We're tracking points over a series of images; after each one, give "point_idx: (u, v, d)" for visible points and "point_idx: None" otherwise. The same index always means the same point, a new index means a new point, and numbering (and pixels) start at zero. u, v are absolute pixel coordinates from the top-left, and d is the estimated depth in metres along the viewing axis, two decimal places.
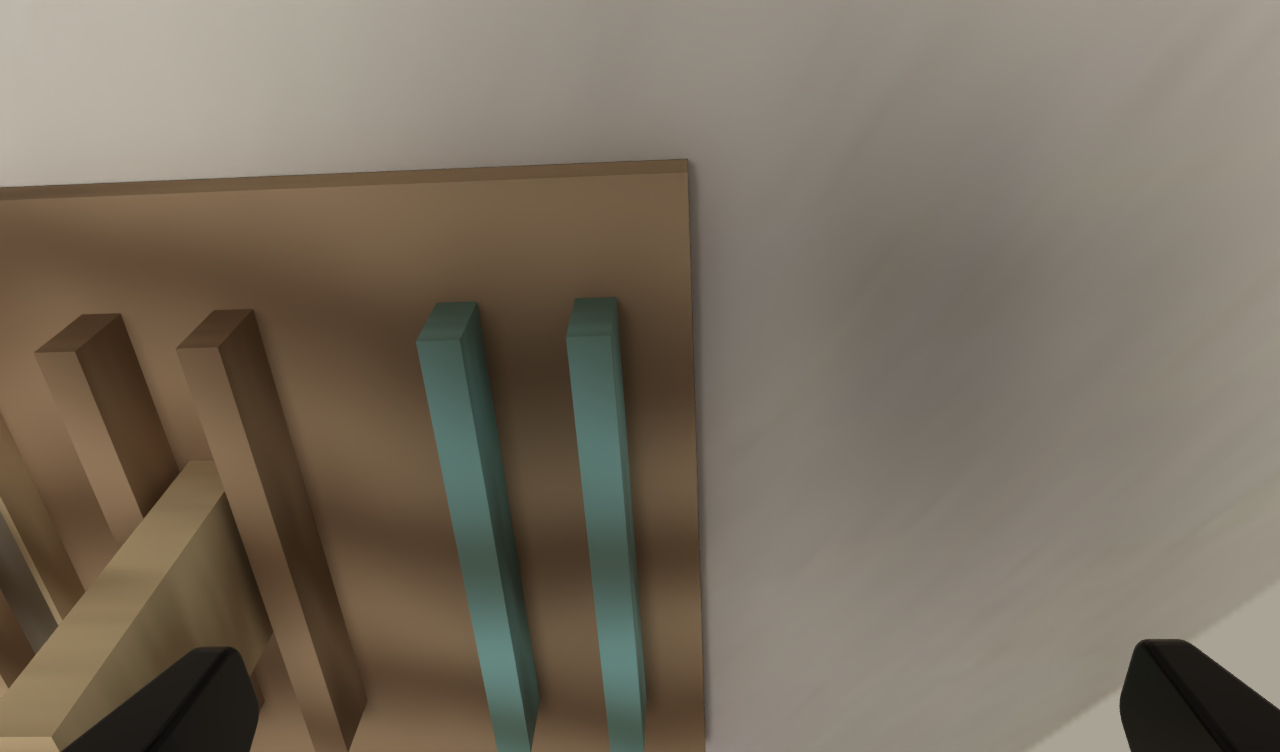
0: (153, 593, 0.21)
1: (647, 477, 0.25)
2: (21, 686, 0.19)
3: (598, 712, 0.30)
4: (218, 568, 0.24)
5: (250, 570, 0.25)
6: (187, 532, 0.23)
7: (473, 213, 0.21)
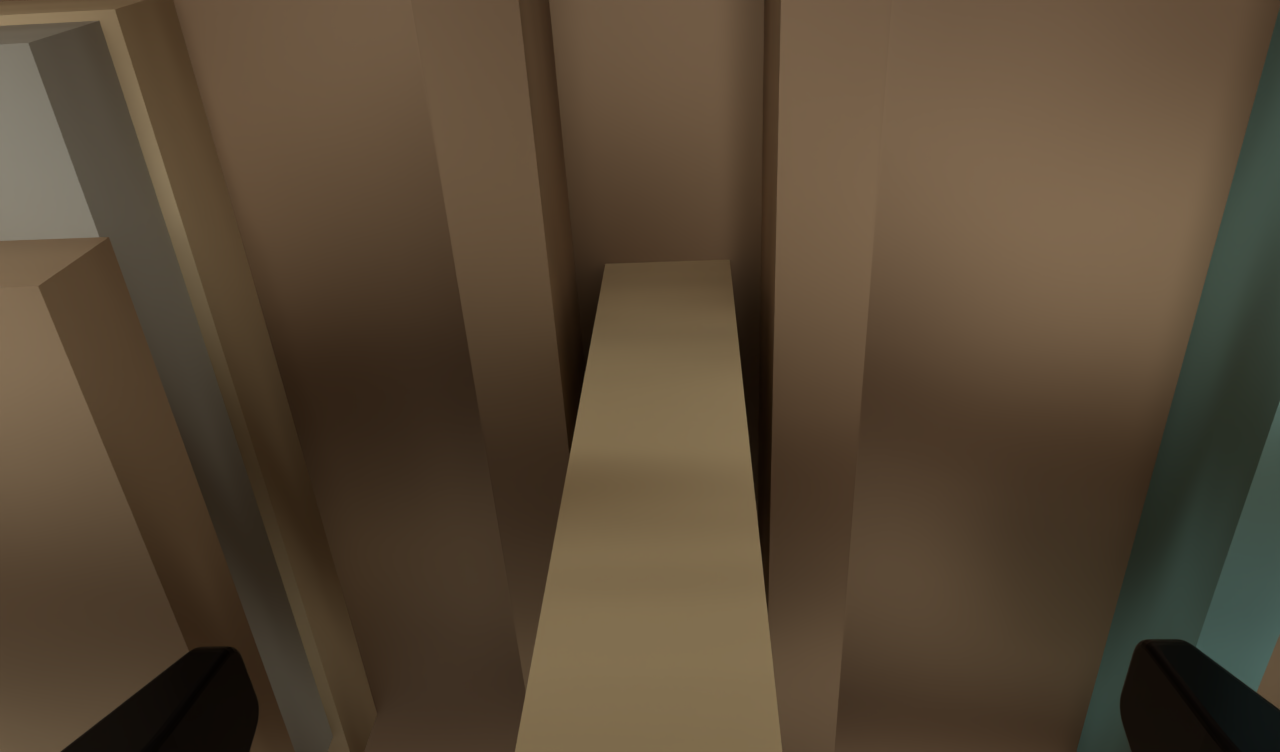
0: (756, 513, 0.07)
1: None
2: None
3: None
4: None
5: None
6: (721, 381, 0.09)
7: None
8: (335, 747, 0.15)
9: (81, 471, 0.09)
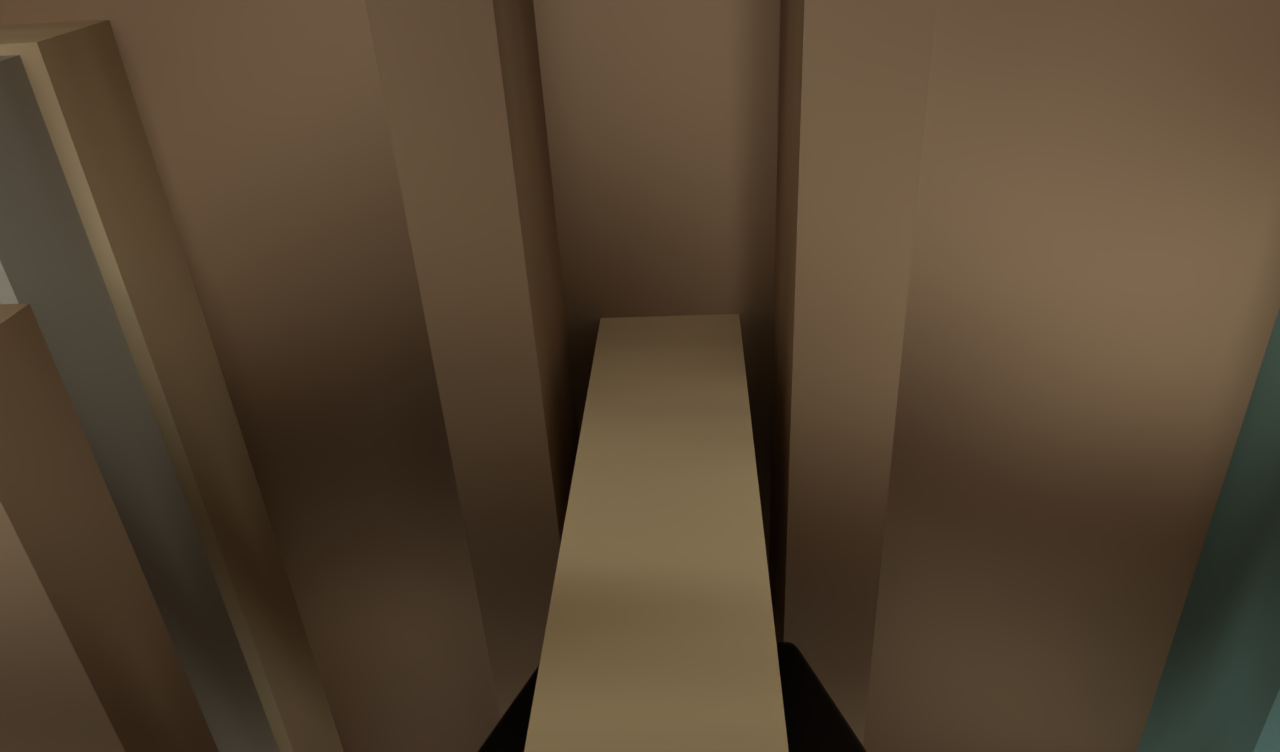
0: None
1: None
2: None
3: None
4: None
5: None
6: (732, 470, 0.08)
7: None
8: None
9: None
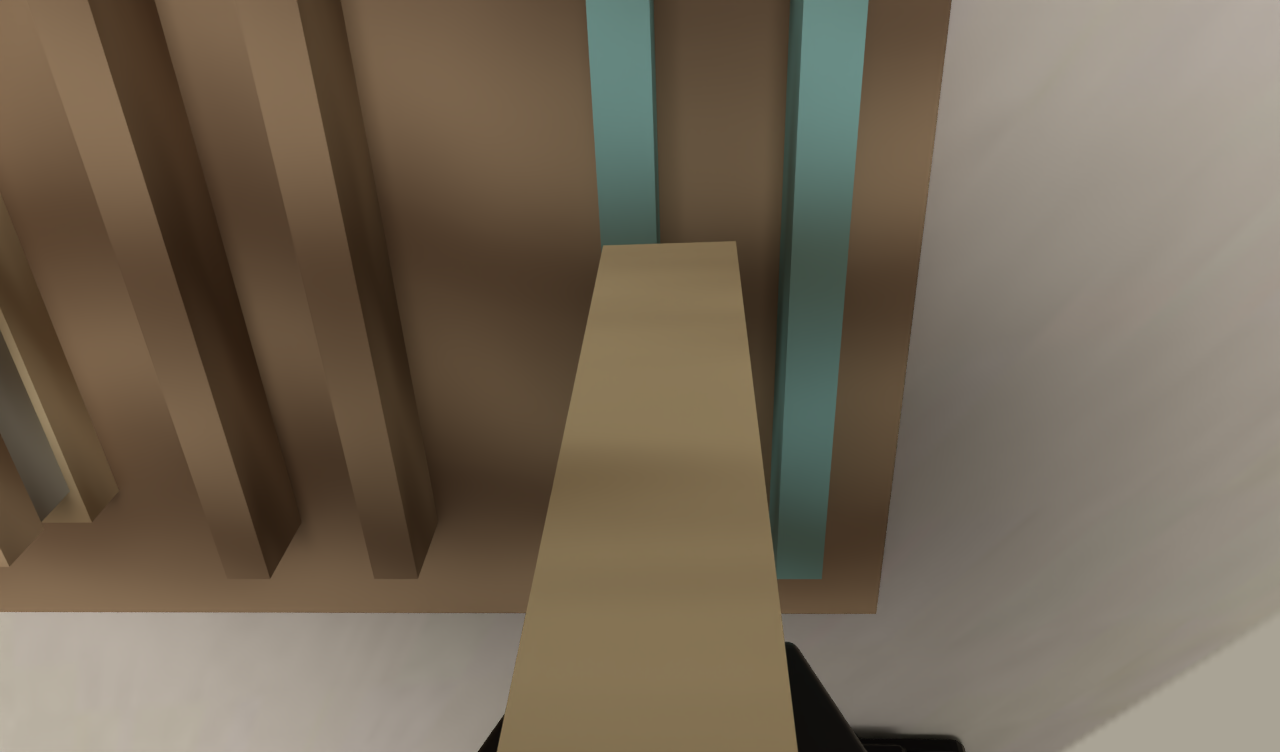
0: (767, 508, 0.07)
1: (860, 166, 0.18)
2: None
3: None
4: None
5: None
6: (728, 365, 0.09)
7: None
8: (73, 500, 0.21)
9: None
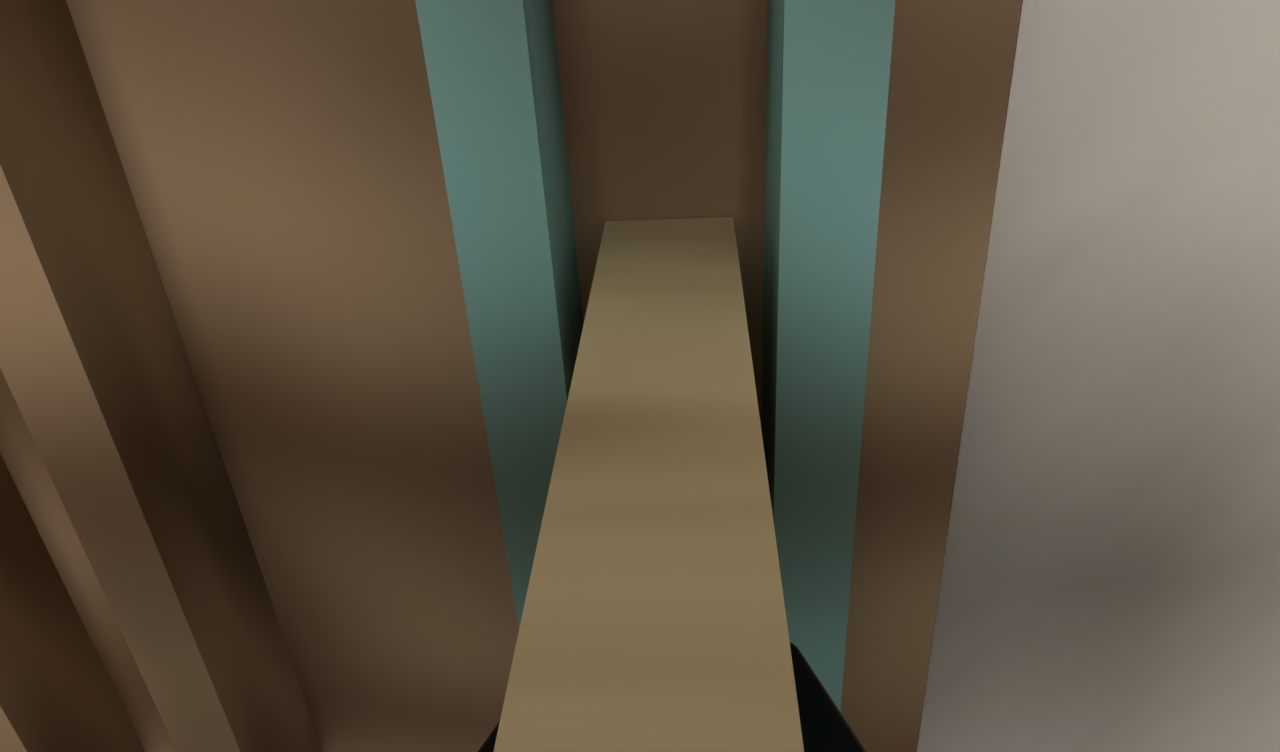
0: (763, 451, 0.07)
1: (875, 314, 0.12)
2: (539, 733, 0.05)
3: None
4: None
5: None
6: (726, 327, 0.09)
7: None
8: None
9: None
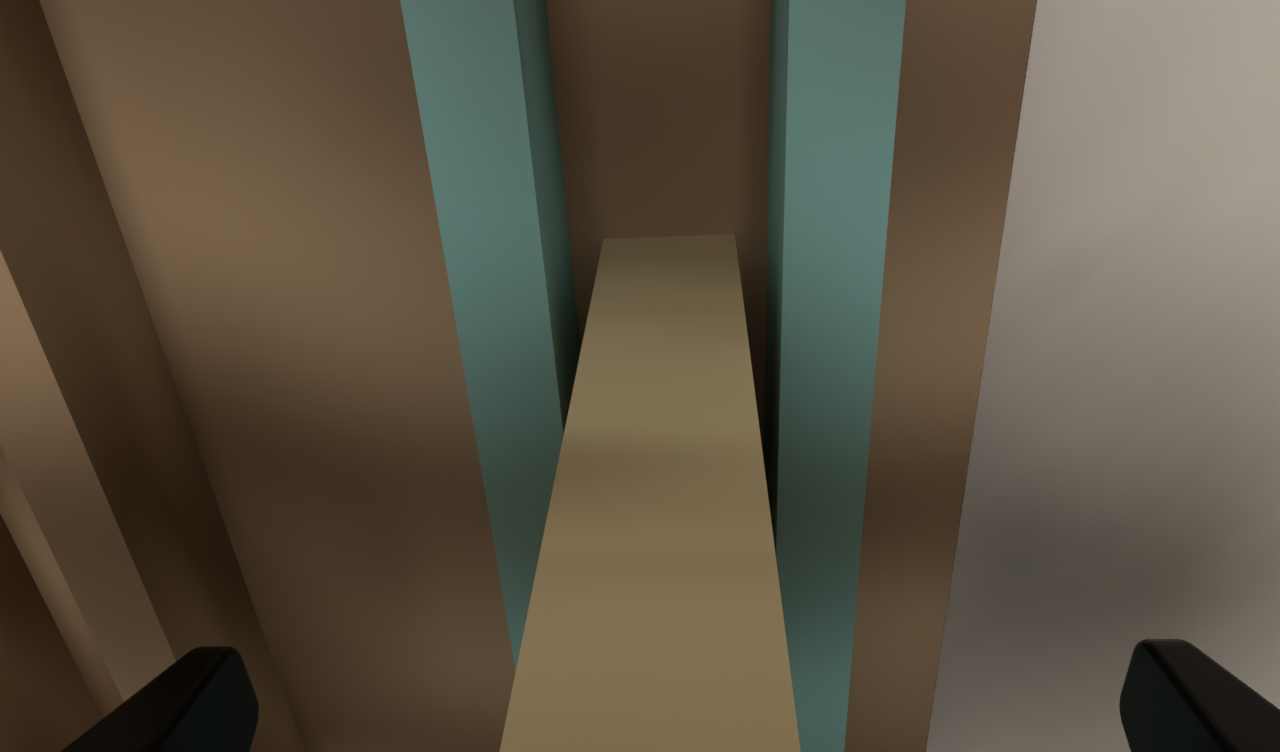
0: (766, 495, 0.07)
1: (881, 335, 0.12)
2: None
3: None
4: None
5: None
6: (728, 355, 0.09)
7: None
8: None
9: None
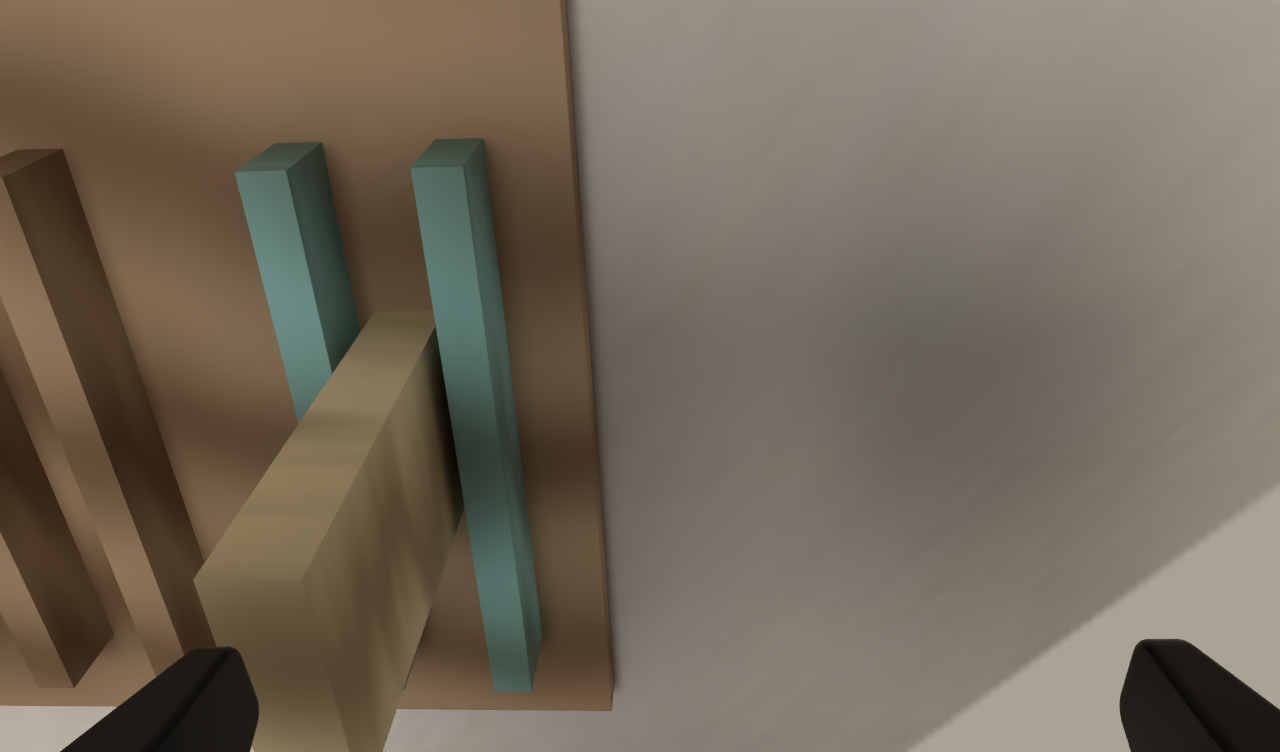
0: (378, 435, 0.17)
1: (530, 365, 0.22)
2: (242, 526, 0.14)
3: None
4: (424, 428, 0.20)
5: (444, 443, 0.21)
6: (398, 376, 0.19)
7: (310, 28, 0.18)
8: None
9: None
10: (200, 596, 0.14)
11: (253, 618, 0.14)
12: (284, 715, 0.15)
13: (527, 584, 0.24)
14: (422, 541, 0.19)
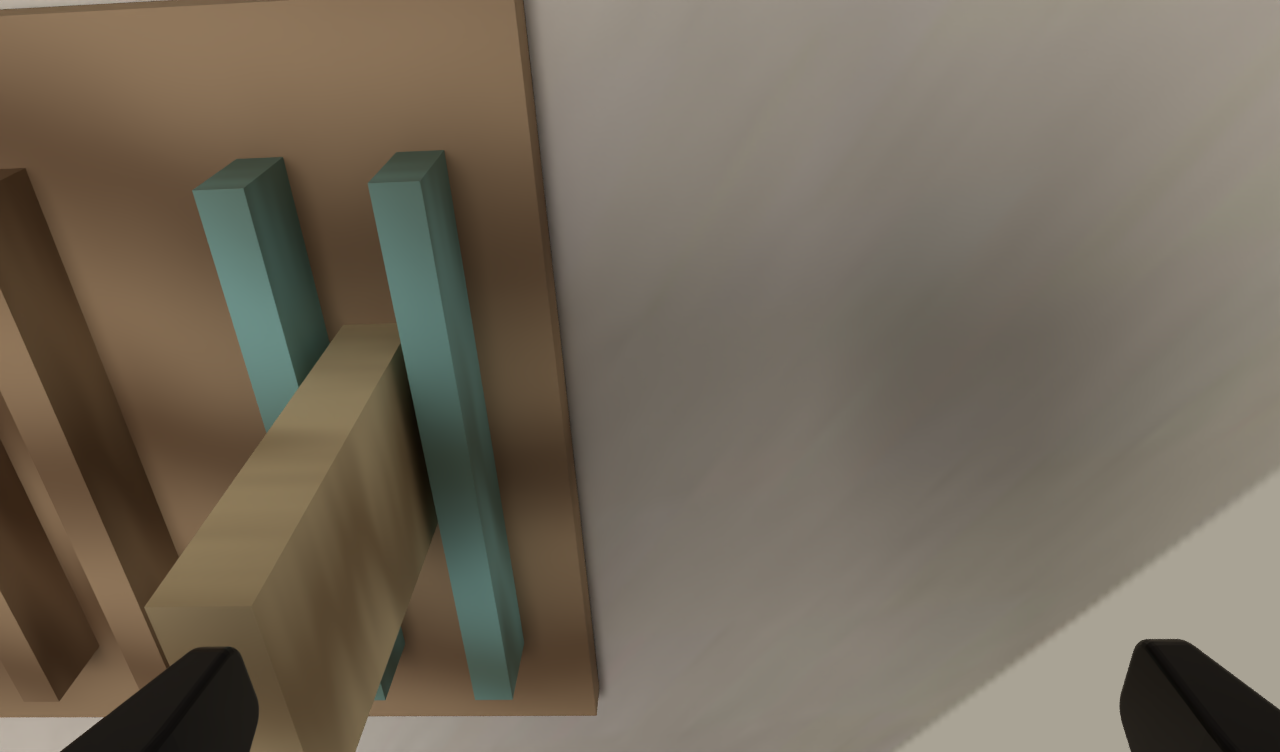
0: (338, 453, 0.17)
1: (500, 375, 0.22)
2: (197, 551, 0.14)
3: None
4: (391, 443, 0.19)
5: (416, 455, 0.21)
6: (362, 392, 0.18)
7: (266, 43, 0.18)
8: None
9: None
10: (152, 623, 0.14)
11: (207, 644, 0.14)
12: None
13: (505, 593, 0.24)
14: (392, 555, 0.19)
